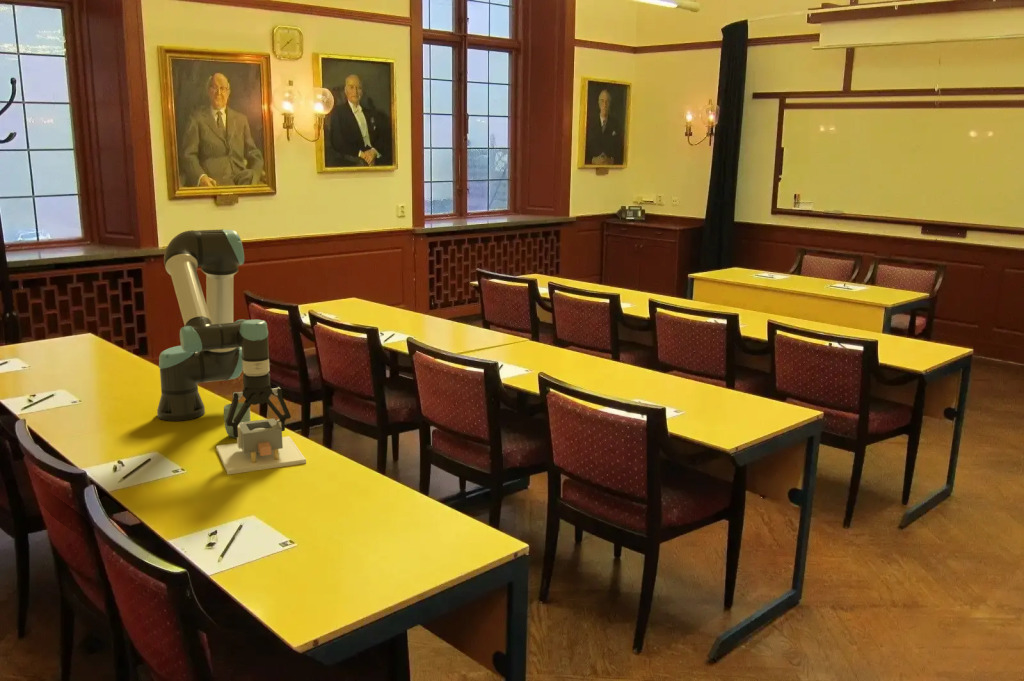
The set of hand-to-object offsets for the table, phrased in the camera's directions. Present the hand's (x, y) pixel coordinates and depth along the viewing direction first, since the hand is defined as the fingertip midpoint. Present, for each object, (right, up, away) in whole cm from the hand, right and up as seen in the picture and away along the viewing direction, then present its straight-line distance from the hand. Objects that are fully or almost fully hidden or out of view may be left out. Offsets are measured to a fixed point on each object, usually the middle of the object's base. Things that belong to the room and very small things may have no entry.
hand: (259, 444), depth 249 cm
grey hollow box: (+1, -1, -2) cm, 2 cm away
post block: (0, -4, +1) cm, 4 cm away
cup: (-12, 0, +18) cm, 22 cm away
